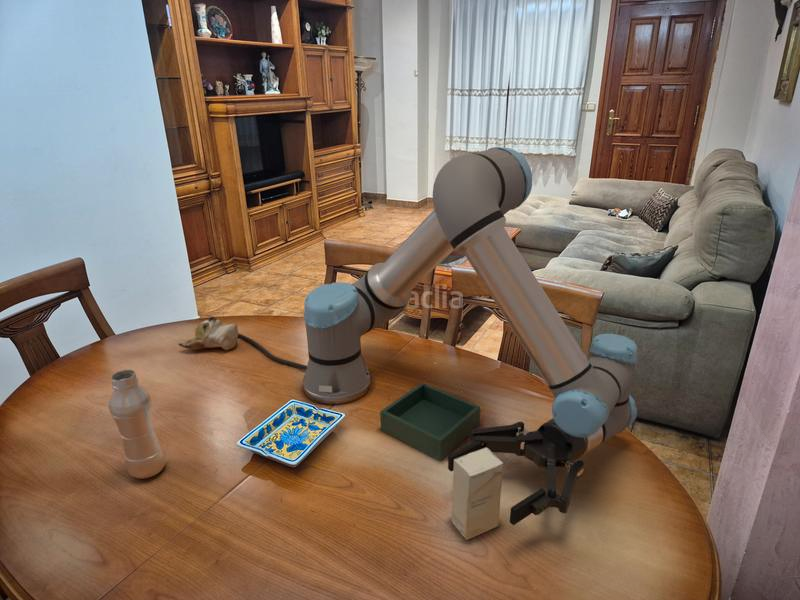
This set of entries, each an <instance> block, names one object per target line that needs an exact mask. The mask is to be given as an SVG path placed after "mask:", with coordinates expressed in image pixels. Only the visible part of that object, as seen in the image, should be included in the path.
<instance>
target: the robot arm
mask: <svg viewBox="0 0 800 600" xmlns="http://www.w3.org/2000/svg"><path fill="white" fill-rule="evenodd" d="M532 189H533V173H532V168H531V166H530V164H529V162H528V161H527V159H526V158H525V156H524V155H522V153H521V152H519V151H517V150H515V149H513V148H511V147H505V146H504V147H502V146H493V147H490V148H488V149H485V150H480V151H476V152H471V153H464V154H460V155H457V156H454V157H453V158H451V159H450V160H448V161H447V162H446V163H445V164H443V165H442V167H441V168H440V170H438V173H437V174H436V177H435V180H434V182H433V185H432V203H433V204H432V205H433V210H432V211H431V212H430V213H429V215H428V216H426V218H425V219H424V220H423V221H422V222H421V223H420V224H418V226H417V227H416V228H415V229H414V230H413V232H412V233H411V234H410V235H408V237H407V238H406V239H405V240H404V241H403V242H402V243H401V244H400V245H399V246H398V248H397V249H396V250H395V251H394V252H393V253H392V254H391V255H390V256H389V257H388V258H387V259H386V260H385V262H377V263H375V264H372V265H371V267H370V268H368V270H367V271H366V272H365V273H364V274H363V275H362V277H361V278H359V279H358V280H356V281H354V282H352V283H349V282H345V281H336V282H332V283H325V284H321V285H319V286H316V287H315V288H314V289H312V290H311V291H310V292H309V293H308V294H307V295H306V297H305V299H304V302H303V305H304V306H303V308H304V311H303V320H304V323H305V332H306V333H305V334H306V339H307V340H306V343H307V352H308V353H307V354H308V361H307V365H305V364H301V363H297V362H295V361H290V360H286V359H283V358H279V357H278V356H275V355H274V354H272V353H271V352H269V351H268V350H267V349H266V348H265V347H263V346H262V345H261V344H259V343H258V342H257V341H255V340H253V339H252V338H250V337H248V336H246V335H244V334H242V333H240V332H238V338H240V339H243V340H244V341H246V342H248V343H250V344H251V345H253V346H254V347H255V348H257V349H258V350H260V351H261V352H262V353H263V354H264V355H265V356H266V357H268V358H269V359H271V360H273V361H275V362H278V363H280V364H283V365H288V366H291V367H295V368H297V369H302V370H305V371H306V372H305V374H304V377H303V379H302V385H303V386H302V387H303V392H304V394H305V396H306V397H307V398H309V400H311V401H313V402H316V403H319V404H322V405H323V404H324V405H342V404H346V403H351V402H354V401H356V400H358V399H360V398H362V397H364V395H366V394H367V393H368V391H369V390H370V388H371V385H372V383H371V381H372V380H371V374H370V372H369V369H368V366H367V364H366V361H365V360H364V357H363V354H362V343H361V337H362V336H364V335H366V334H368V333H370V332H372V331H374V330H375V329H376V328H378V327H380V326H382V325H384V324H385V323H387V322H390V321H391V320H394V319H395V318H397V317H398V316H400V315H401V314H402V313H403V312H404V310H405V309H406V308H407V306H408V303H409V302H410V300H411V297H412V290H413V289H414V288H416V287H417V286H418V285H419V284H420V283H421V282H422V281H423V280H424V279H425V278H426V277H427V276H428V275H429V274H431V273H432V272H433V271H434V270H435V269H436V268H437V267H438V266H439V265H440V264H441V263H442V262H443V261H445V260H446V259H447V258H448V256H450V255H451V254H452V253H453V252H456V253H459V254H463V255H464V257H465V258H466V259H467V260H468V262H469V263H470V265H471V268H472V269H473V270H474V272H475V273H476V275H477V276H478V278H479V280H480V281H481V283H482V284H483V286H484V288H485V289H486V291H487V293H489V295H490V297H491V299H492V300H493V302H494V303H495V305H496V307H497V308H498V309H499V311H500V313H501V314H502V316H503V318H504V319H505V320H506V322H507V324H508V325H509V327H510V329H511V330H512V332H513V333H514V335H515V336H516V338H517V340H518V341H519V343H520V345H521V346H522V347H523V349H524V350H525V352H526V354H527V355H528V356H529V358H530V360H531V361H532V363H533V365H534V366H535V368H536V369H537V371H538V372H539V374H540V376H541V377H542V379H543V380H544V382H545V384H546V385H547V387H548V388H549V390H550V393H552V395H553V397H554V400H553V403H552V406H551V413H552V418H551V419H550V420H548V421H546V422H544V423H542V425H540V426H539V428H537V429H536V430H533V431H529V430H528V429H527V428H525V423H524V422H523V421H518V422H515V423H513V424H507V425H496V426H490V427H478V428H477V429H472V430H471V434H470V441H468V442H466V443H465V444H463V445H461V446H460V447H459V450H456V451H455V452H453V453H451V454H448V455H447V456H448V457H447V470H448V471H450V472H453V470H454V459H457V458H459V457H462V456H464V455H467V454H469V453H472V452H475V451H477V450H480V449H483V448H488V449H489V450H490V451H491V452H492V453H498V454H500V453H501V454H515V456H517V457H524V458H526V459H527V460H529V461H531V462H533V464H534V465H536V466H537V467H538V468H541V467H542V468H545V489H544V488H543V487H540V489H538V490H536V491H535V492H533V493H532V494H530V495H529V496H527V497H525V498H524V499H522V500H521V501H518V502H517V503H516V504H515V505H513V506H511V507H510V513H509V514H510V515H509V523H510V524H511V525H512V526H515V525H517V524H518V523H520V522H521V521H523V520H524V519H526V518H527V517H529V516H530V515H534V516H539V515H541V514H542V513H543V512H545V511H547V510H548V509H550V508H552V509H553V508H555V509H558V511H559V512H560V513H561V514H567V513H568V511H569V507H570V503H571V501H572V497H573V494H574V491H575V487H576V485H577V482H578V481H579V480H580V479H581V478H582V477H583V476H584V475H583V474H584V470H585V469H584V468H585V461H584V460H582V459H579V458H581V457H582V456H583V455H586V454H587V453H588V452H590V451H591V450H593V449H595V448H596V447H598V446H599V445H602V443H604V442H605V441H607V440H609V439H610V438H612V437H614V436H615V435H618V434H620V433H623V432H624V431H625V430H626V429H627V428H628V427H629V426H631V425H632V424H633V423H634V422H635V421H636V419H637V417H638V408H637V406H636V401H635V399H634V398H633V397H632V395H631V389H632V386H633V380H634V376H635V370H636V365H637V364H638V361H637V358H638V351H639V350H638V345H637V344H636V342H634V341H633V340H632V339H631V338H630V337H627V336H625V335H620V334H616V333H602V334H601V333H600V334H598V335H596V336H594V337H593V339H592V342H591V344H590V349H589V350H588V352H589V354H588V357H587V356H586V355H585V353H584V352H583V349H582V348H581V346H580V344H579V343H578V342H577V340H576V338H575V337H574V336H573V334H572V332H571V331H570V329H569V328H568V326H567V324H566V323H565V321H564V320H563V318H562V317H561V315H560V314H559V312H558V310H557V309H556V307H555V306H554V304H553V302H552V301H551V300H550V298H549V296H548V295H547V293H546V292H545V290H544V288H543V287H542V285H541V284H540V282H539V280H538V279H537V277H536V275H535V274H534V272H533V271H532V269H531V268H530V266H529V265H528V263H527V262H526V260H525V259H524V257H523V255H522V254H521V252H520V251H519V249H518V247H517V246H516V244H515V242H514V241H513V239H512V238H511V236H510V235H509V233H508V232H507V230H506V228H505V226H506V222H507V218H506V216H505V215H506V214H507V213H508V212H510V211H513V210H515V209H517V208H520V207H521V206H522V205H523V203H525V202H526V201H527V199H528V198H529V196H530V194H531V193H532ZM522 443H524V444H523V448H522ZM556 468H559V469H561V468H567V469H566V472H567V476H566V479H565V481H564V484H563V488H562V490H561V494H558V493H557V490H558V488H557V478H556V477H557V476H556V475H557V474H556V473H557V472H556Z"/></svg>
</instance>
